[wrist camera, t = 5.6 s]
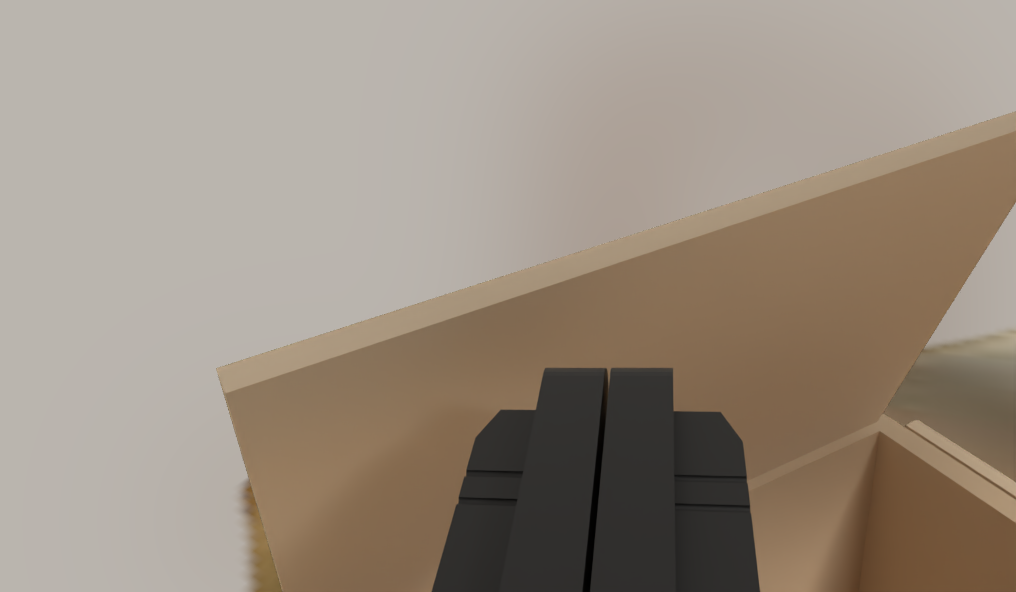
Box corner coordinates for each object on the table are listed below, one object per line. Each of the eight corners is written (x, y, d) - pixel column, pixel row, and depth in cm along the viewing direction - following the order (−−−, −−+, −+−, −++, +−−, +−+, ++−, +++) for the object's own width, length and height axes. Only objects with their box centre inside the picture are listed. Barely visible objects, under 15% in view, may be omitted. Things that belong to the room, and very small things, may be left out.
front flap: (877, 421, 22) (866, 409, 22) (1072, 111, 15) (1053, 99, 15) (309, 680, 17) (303, 661, 17) (224, 393, 10) (215, 368, 10)
